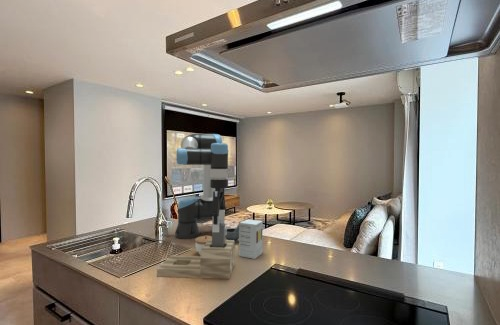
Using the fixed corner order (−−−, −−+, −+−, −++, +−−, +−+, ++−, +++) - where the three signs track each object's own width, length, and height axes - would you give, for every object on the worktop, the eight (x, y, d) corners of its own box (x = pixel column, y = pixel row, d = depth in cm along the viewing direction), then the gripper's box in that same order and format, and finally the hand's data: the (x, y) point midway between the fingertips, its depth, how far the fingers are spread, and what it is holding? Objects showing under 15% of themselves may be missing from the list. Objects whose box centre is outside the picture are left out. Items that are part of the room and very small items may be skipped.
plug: (213, 250, 113) (214, 218, 113) (226, 250, 113) (227, 219, 113) (211, 253, 109) (212, 220, 109) (225, 253, 109) (225, 221, 109)
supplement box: (255, 259, 124) (255, 224, 124) (238, 256, 128) (238, 222, 128) (262, 253, 133) (263, 220, 133) (246, 250, 137) (247, 218, 137)
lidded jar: (191, 257, 126) (191, 238, 126) (199, 249, 137) (199, 232, 137) (212, 258, 125) (212, 239, 124) (218, 251, 135) (219, 233, 135)
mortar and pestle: (222, 243, 147) (222, 223, 147) (227, 239, 156) (227, 219, 156) (241, 245, 144) (241, 224, 144) (245, 240, 153) (245, 220, 153)
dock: (170, 261, 120) (170, 238, 120) (234, 264, 118) (234, 240, 118) (157, 276, 105) (157, 249, 105) (229, 278, 103) (229, 251, 103)
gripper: (223, 180, 98) (222, 236, 98) (231, 177, 123) (231, 221, 123) (203, 180, 99) (203, 235, 99) (216, 177, 124) (215, 221, 123)
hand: (218, 227), depth 111 cm, fingers open, 13 cm apart
